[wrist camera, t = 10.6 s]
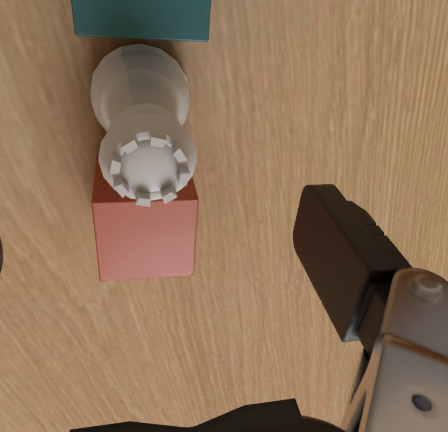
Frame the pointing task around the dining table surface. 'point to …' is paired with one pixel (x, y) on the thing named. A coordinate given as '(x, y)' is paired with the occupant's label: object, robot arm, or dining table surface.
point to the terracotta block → (143, 233)
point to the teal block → (143, 19)
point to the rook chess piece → (143, 123)
